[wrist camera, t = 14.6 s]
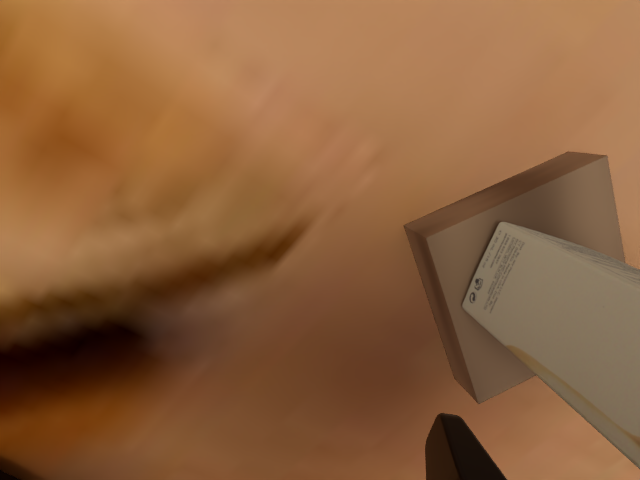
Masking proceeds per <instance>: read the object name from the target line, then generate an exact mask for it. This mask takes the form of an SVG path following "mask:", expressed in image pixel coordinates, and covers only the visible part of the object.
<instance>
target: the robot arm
mask: <svg viewBox="0 0 640 480" xmlns="http://www.w3.org/2000/svg"><path fill="white" fill-rule="evenodd" d="M425 460H426V480H507V479H506V478H505V476H504V475H503V473H502V472H501V471H500V469H499V468H498V467H497V465H496V464H495V463H494V461H493V460H492V459H491V457H490V456H489V454H488V453H487V452H486V450H485V449H484V448H483V446H482V445H481V444H480V442H479V441H478V439H477V438H476V437H475V435H474V434H473V433H472V431H471V430H470V429H469V427H468V426H467V424H466V423H465V422H464V420H463V419H462V418H461V417H459V416H457V415H451V414H445V413H440V414H438V415H437V417H436V419H435V421H434V423H433V426H432V428H431V430H430V433H429V435H428V437H427V440H426V445H425ZM0 480H19V479H17V478H15V477H13V476H11V475H9V474H7V473H5V472H3V471H1V470H0Z"/></svg>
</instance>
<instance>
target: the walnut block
mask: <svg viewBox="0 0 640 480" xmlns="http://www.w3.org/2000/svg"><path fill="white" fill-rule="evenodd" d="M500 222H507V223H510V224H514V225H517V226H521V227H524V228H528V229H531V230H534V231H538V232H541V233H544V234H547V235H550V236H553V237H557V238H560V239H563V240H566V241H569V242H572V243H575V244H578V245H581V246H583V247H586V248H589V249H592V250H594V251H597V252H600V253H602V254H605V255H607V256H610V257H612V258H614V259H616V260H619V261H621V262H623V263H625V257H624V252H623V246H622V240H621V234H620V228H619V222H618V216H617V210H616V204H615V198H614V192H613V186H612V181H611V175H610V169H609V163H608V157H607V155H597V154H587V153H577V152H566V153H564V154H562V155H560V156H557V157H555V158H553V159H551V160H548V161H546V162H544V163H542V164H540V165H537V166H535V167H533V168H531V169H528V170H526V171H524V172H522V173H519V174H517V175H515V176H513V177H511V178H508V179H506V180H504V181H502V182H499V183H497V184H495V185H493V186H490V187H488V188H486V189H484V190H482V191H479V192H477V193H475V194H473V195H470V196H468V197H466V198H464V199H461V200H459V201H457V202H455V203H453V204H450V205H448V206H446V207H444V208H441V209H439V210H437V211H435V212H432V213H430V214H428V215H426V216H424V217H421V218H419V219H417V220H415V221H412V222H410V223H408V224H406V225H404V228H405V231H406V234H407V237H408V240H409V243H410V246H411V249H412V252H413V255H414V258H415V261H416V264H417V267H418V270H419V273H420V276H421V279H422V282H423V285H424V288H425V291H426V294H427V297H428V300H429V303H430V306H431V309H432V312H433V315H434V318H435V321H436V324H437V327H438V330H439V333H440V336H441V339H442V342H443V345H444V348H445V351H446V354H447V357H448V360H449V363H450V366H451V369H452V372H453V375H454V378H455V379H456V380H457V382H458V383H459V384H460V385H461V386H462V387H463V388H464V389H465V390H466V391H467V392H468V393H469V394H470V395H471V396H472V398H473V399H474V400H475V401H476V402H477V403H478V404H480V403H482V402H484V401H486V400H488V399H490V398H492V397H494V396H496V395H498V394H500V393H502V392H504V391H506V390H508V389H510V388H512V387H514V386H516V385H518V384H520V383H522V382H523V381H525V380H527V379H529V378H531V377H533V376H535V375H536V374H534V373H533V372H532V371H531V370H530V369H529V368H528V367H527V366H526V365H525V364H524V363H523V362H521V361H520V360H519V359H518V358H517V357H516V356H515V355H514V354H513V353H512V352H511V351H509V350H508V349H507V348H506V347H505V346H504V345H503V344H502V343H501V342H499V341H498V340H497V339H496V338H495V337H494V336H493V335H492V334H490V333H489V332H488V331H487V330H486V329H485V328H484V327H483V326H482V325H480V324H479V323H478V322H477V321H476V320H475V319H474V318H473V317H472V316H471V315H469V314H468V313H467V312H466V311H465V310H464V309H463V307H462V304H463V302H464V299H465V297H466V294H467V292H468V289H469V287H470V285H471V282H472V280H473V277H474V275H475V273H476V271H477V269H478V267H479V264H480V262H481V260H482V258H483V256H484V253H485V251H486V249H487V247H488V245H489V243H490V241H491V239H492V237H493V235H494V233H495V231H496V228H497V226H498V224H499V223H500ZM625 264H626V263H625Z"/></svg>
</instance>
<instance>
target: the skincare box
mask: <svg viewBox="0 0 640 480" xmlns="http://www.w3.org/2000/svg"><path fill="white" fill-rule="evenodd" d="M462 307H463V309H464V310H465V311H466V312H467V313H468V314H469V315H471V316H472V317H473V318H474V319H475V320H476V321H477V322H478V323H479V324H480V325H482V326H483V327H484V328H485V329H486V330H487V331H488V332H489V333H490V334H492V335H493V336H494V337H495V338H496V339H497V340H498V341H499V342H501V343H502V344H503V345H504V346H505V347H506V348H507V349H508V350H509V351H511V352H512V353H513V354H514V355H515V356H516V357H517V358H518V359H519V360H520V361H521V362H523V363H524V364H525V365H526V366H527V367H528V368H529V369H530V370H531V371H532V372H533V373H534V374H536V375H537V376H538V377H539V378H540V379H541V380H542V381H543V382H545V383H546V384H547V385H548V386H549V387H550V388H551V389H552V390H553V391H554V392H555V393H557V394H558V395H559V396H560V397H561V398H562V399H563V400H564V401H565V402H566V403H568V404H569V405H570V406H571V407H572V408H573V409H574V410H575V411H576V412H578V413H579V414H580V415H581V416H582V417H583V418H584V419H585V420H586V421H587V422H589V423H590V424H591V425H592V426H593V427H594V428H595V429H596V430H597V431H598V432H599V433H601V434H602V435H603V436H604V437H605V438H606V439H607V440H608V441H609V442H610V443H612V444H613V445H614V446H615V447H616V448H617V449H618V450H619V451H620V452H621V453H623V454H624V455H625V456H626V457H627V458H628V459H629V460H630V461H631V462H633V463H634V464H635V465H636V466H637V467H638V468H639V469H640V270H639V269H637V268H634V267H632V266H630V265H628V264H625V263H623V262H621V261H619V260H616V259H614V258H612V257H610V256H607V255H605V254H602V253H600V252H597V251H594V250H592V249H589V248H586V247H583V246H581V245H578V244H575V243H572V242H569V241H566V240H563V239H560V238H557V237H553V236H550V235H547V234H544V233H541V232H538V231H534V230H531V229H528V228H524V227H521V226H517V225H514V224H510V223H507V222H500V223H499V224H498V226H497V228H496V231H495V233H494V235H493V237H492V239H491V241H490V243H489V245H488V247H487V249H486V251H485V253H484V256H483V258H482V260H481V262H480V264H479V267H478V269H477V271H476V273H475V275H474V277H473V280H472V282H471V285H470V287H469V289H468V292H467V294H466V297H465V299H464V302H463V304H462Z"/></svg>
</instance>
